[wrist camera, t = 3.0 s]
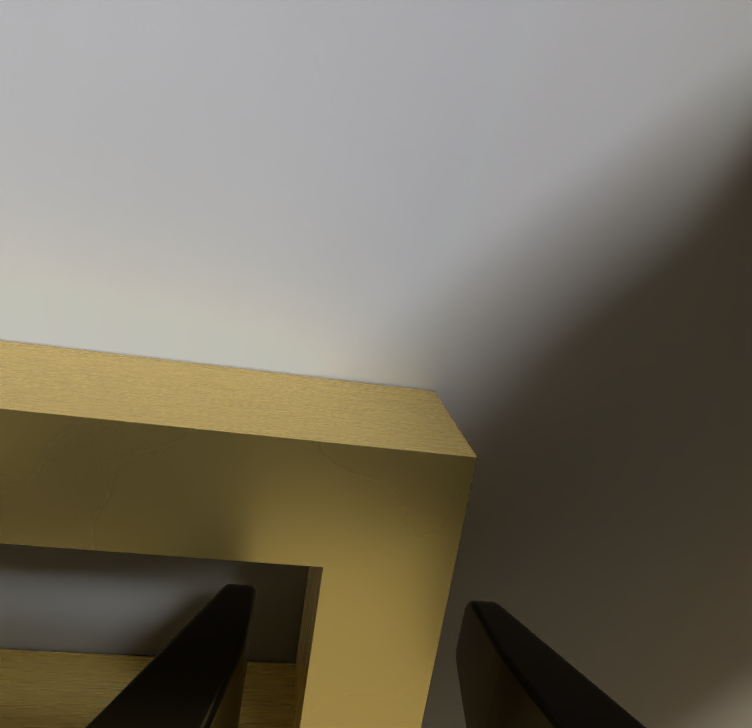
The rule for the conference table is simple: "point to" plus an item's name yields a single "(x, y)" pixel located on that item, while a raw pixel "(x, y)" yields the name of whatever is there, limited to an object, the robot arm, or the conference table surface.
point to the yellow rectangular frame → (240, 518)
